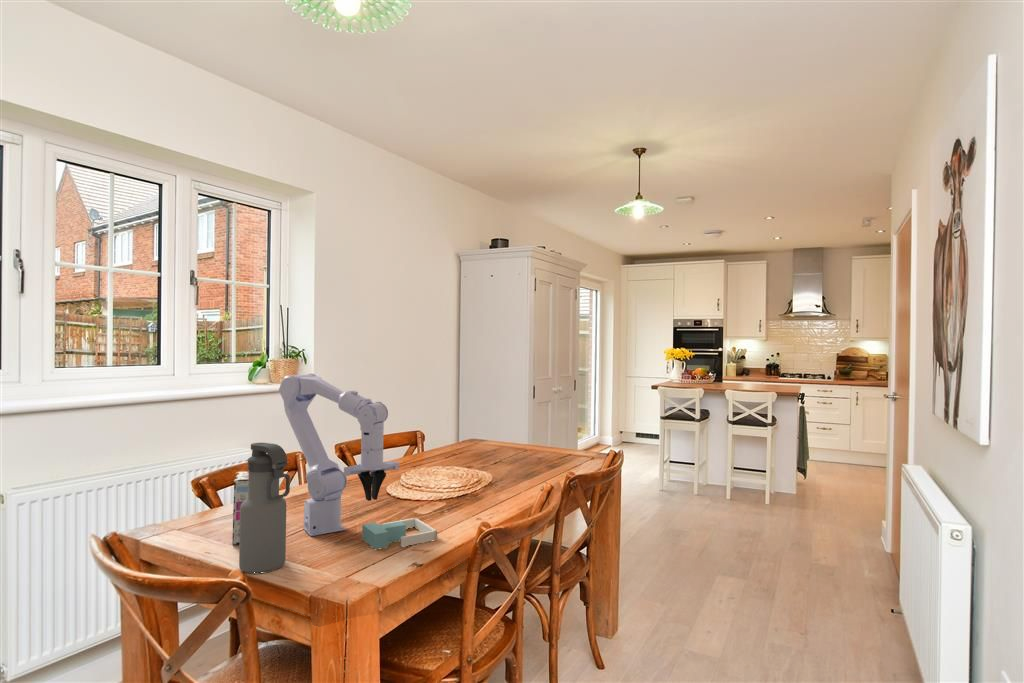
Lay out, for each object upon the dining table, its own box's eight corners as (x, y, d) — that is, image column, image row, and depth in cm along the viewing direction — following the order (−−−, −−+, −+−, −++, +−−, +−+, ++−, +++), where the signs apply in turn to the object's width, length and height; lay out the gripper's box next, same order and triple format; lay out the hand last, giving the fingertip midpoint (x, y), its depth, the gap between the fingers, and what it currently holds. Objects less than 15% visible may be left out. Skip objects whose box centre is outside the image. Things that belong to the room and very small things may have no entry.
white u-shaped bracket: (401, 547, 144) (401, 537, 144) (381, 532, 154) (382, 523, 154) (437, 540, 149) (437, 530, 149) (415, 526, 160) (415, 517, 160)
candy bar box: (253, 543, 145) (254, 479, 145) (231, 545, 143) (232, 480, 143) (256, 529, 156) (257, 469, 156) (236, 531, 154) (237, 471, 154)
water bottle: (296, 562, 133) (297, 443, 133) (262, 578, 124) (264, 450, 124) (263, 555, 137) (265, 439, 137) (229, 570, 128) (231, 446, 128)
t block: (375, 550, 142) (375, 534, 142) (362, 539, 149) (362, 524, 149) (410, 542, 147) (410, 527, 147) (396, 533, 154) (396, 518, 154)
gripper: (350, 453, 144) (349, 507, 144) (403, 448, 152) (402, 498, 152) (341, 449, 150) (340, 500, 150) (393, 444, 158) (392, 492, 158)
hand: (371, 499), depth 151 cm, fingers closed
